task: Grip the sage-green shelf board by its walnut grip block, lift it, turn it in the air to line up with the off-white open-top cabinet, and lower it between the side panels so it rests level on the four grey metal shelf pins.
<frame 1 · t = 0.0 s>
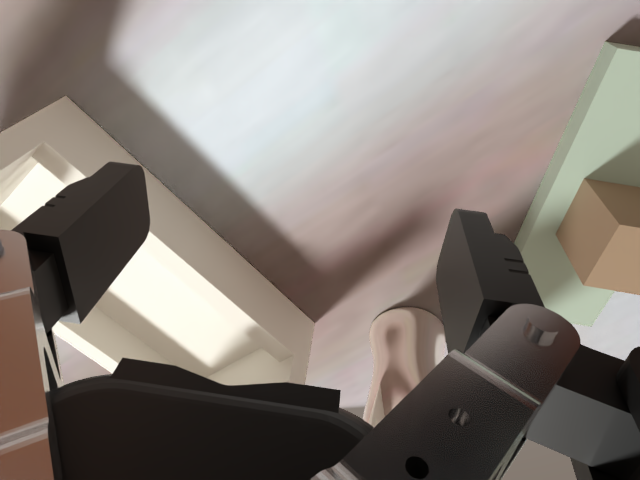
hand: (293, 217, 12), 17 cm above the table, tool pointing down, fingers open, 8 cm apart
shelf board: (590, 196, 30), on the table
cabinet: (149, 269, 37), on the table
beer glass: (406, 332, 38), on the table
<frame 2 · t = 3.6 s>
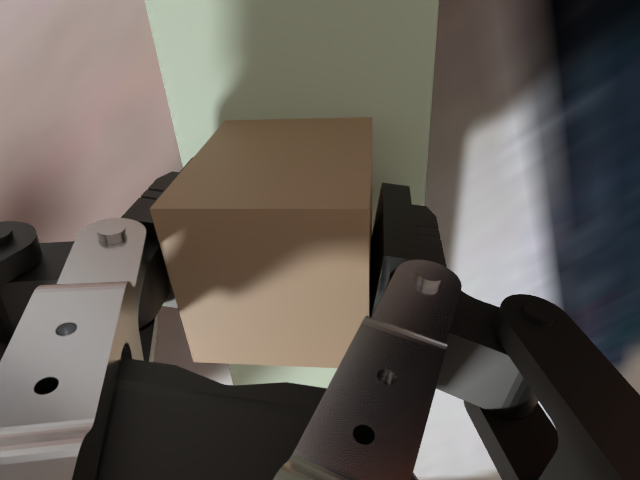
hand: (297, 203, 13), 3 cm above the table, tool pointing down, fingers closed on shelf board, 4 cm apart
shelf board: (311, 159, 15), on the table, touching gripper
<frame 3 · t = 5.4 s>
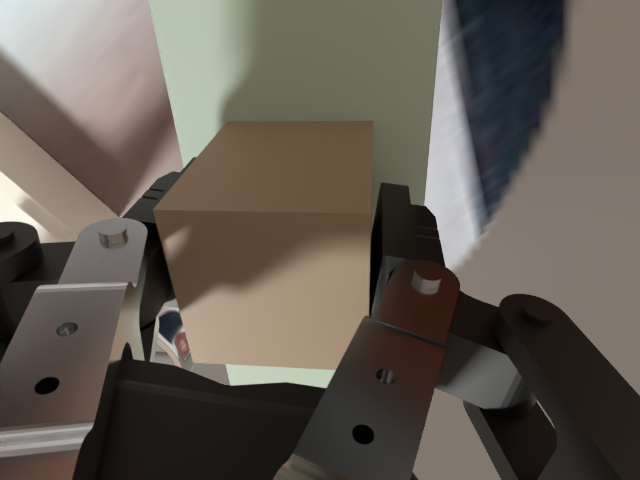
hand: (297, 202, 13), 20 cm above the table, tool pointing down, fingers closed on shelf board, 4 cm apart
shelf board: (311, 161, 15), point 17 cm above the table, touching gripper
beer glass: (210, 225, 38), on the table
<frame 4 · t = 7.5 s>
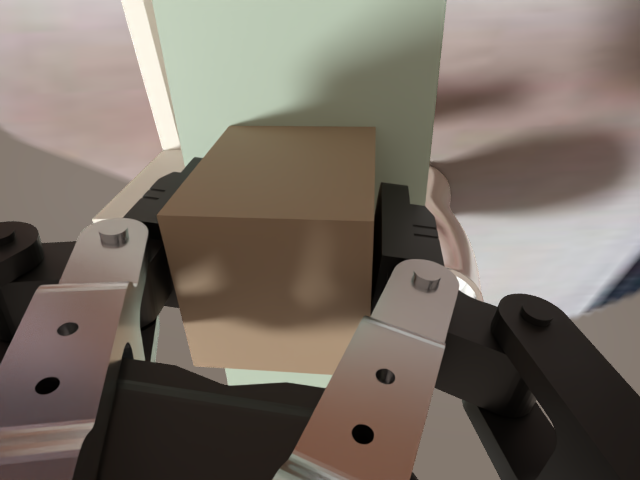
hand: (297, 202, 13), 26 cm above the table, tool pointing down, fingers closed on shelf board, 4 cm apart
shelf board: (312, 165, 15), point 23 cm above the table, touching gripper
beer glass: (414, 194, 41), on the table
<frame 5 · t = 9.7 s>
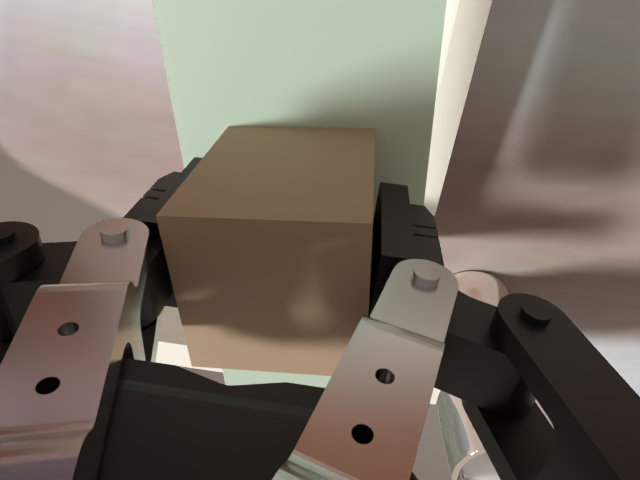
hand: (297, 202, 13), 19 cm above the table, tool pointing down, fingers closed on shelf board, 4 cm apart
shelf board: (311, 166, 15), point 16 cm above the table, touching gripper
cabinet: (341, 58, 29), on the table
beer glass: (468, 298, 38), on the table
when the fingers open (14 cm above the table, at t = 11.5 s): shelf board drops 1 cm, resting on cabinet.
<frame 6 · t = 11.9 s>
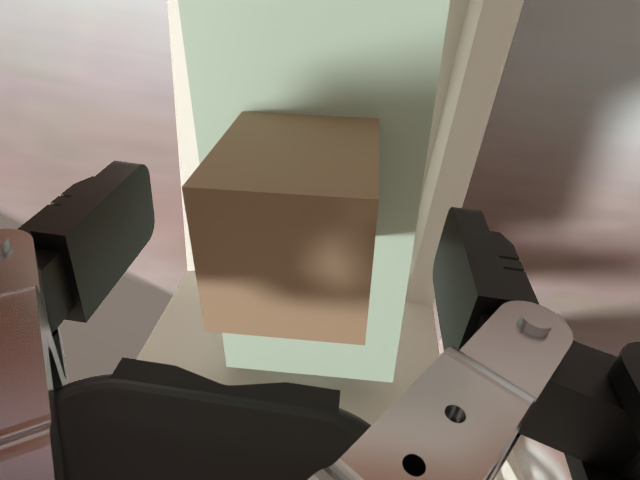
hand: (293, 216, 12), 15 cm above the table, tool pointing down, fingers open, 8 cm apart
shelf board: (316, 153, 16), point 10 cm above the table, touching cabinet
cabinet: (336, 78, 24), on the table
beer glass: (480, 343, 34), on the table
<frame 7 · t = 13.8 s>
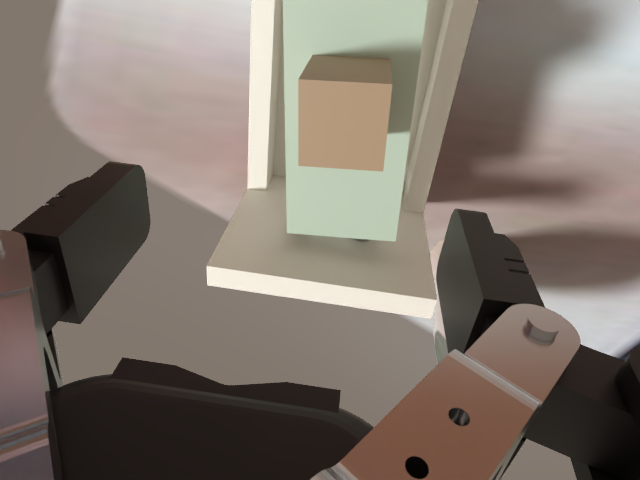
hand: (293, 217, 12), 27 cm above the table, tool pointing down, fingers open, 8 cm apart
shelf board: (350, 86, 27), point 10 cm above the table, touching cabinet
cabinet: (356, 49, 35), on the table
beer glass: (460, 258, 44), on the table
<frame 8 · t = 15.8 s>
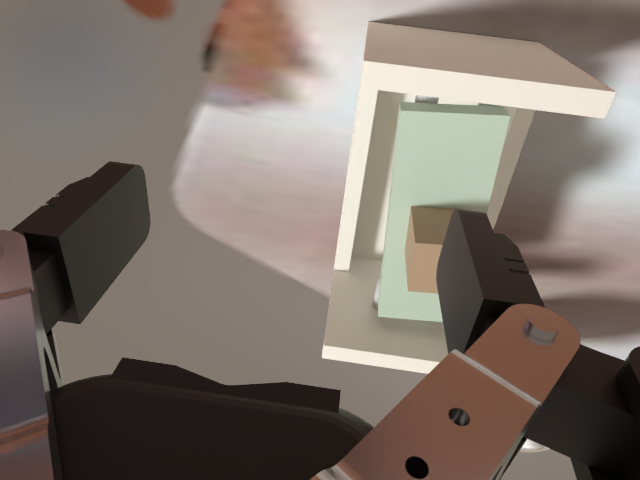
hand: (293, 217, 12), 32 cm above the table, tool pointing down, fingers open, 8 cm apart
shelf board: (431, 217, 37), point 10 cm above the table, touching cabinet
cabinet: (421, 165, 45), on the table
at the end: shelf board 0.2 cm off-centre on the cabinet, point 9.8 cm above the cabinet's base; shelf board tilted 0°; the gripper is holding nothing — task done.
